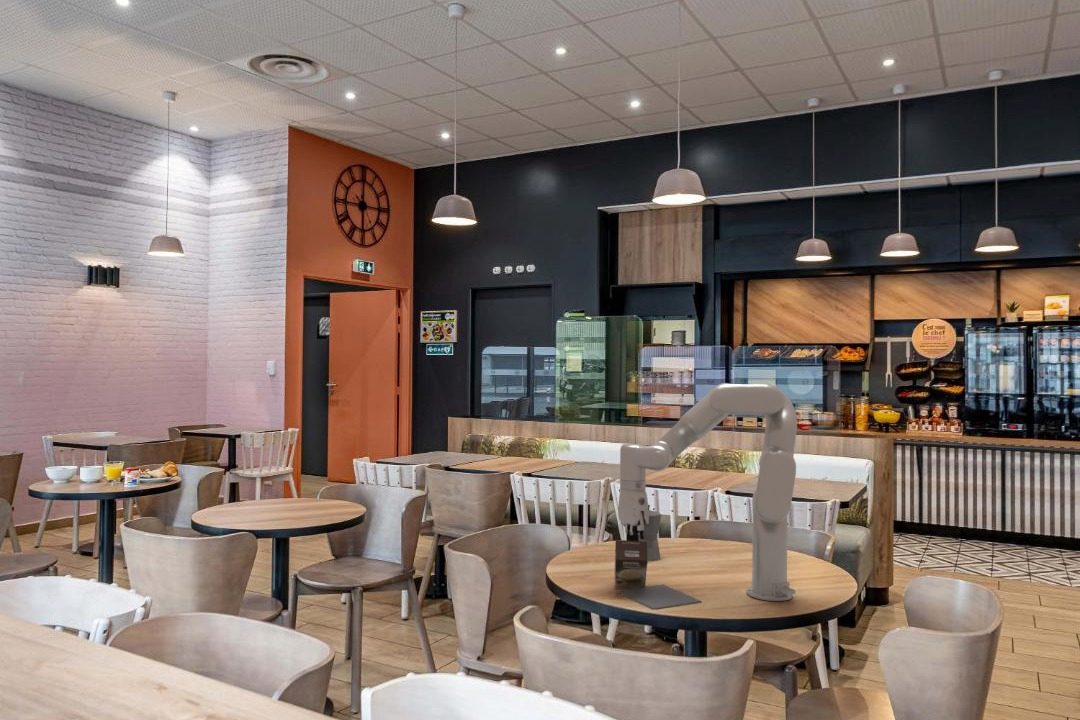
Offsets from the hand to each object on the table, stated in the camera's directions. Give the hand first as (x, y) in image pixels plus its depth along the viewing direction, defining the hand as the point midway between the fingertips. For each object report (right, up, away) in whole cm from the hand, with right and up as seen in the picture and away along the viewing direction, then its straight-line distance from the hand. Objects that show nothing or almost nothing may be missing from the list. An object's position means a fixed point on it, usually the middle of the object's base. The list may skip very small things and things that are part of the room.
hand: (632, 547), depth 230 cm
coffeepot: (+8, -12, +32) cm, 35 cm away
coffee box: (-1, -9, 0) cm, 9 cm away
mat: (+6, -11, -12) cm, 17 cm away
